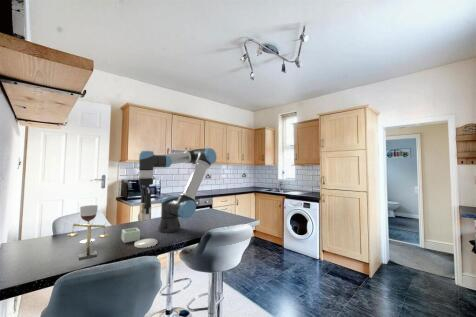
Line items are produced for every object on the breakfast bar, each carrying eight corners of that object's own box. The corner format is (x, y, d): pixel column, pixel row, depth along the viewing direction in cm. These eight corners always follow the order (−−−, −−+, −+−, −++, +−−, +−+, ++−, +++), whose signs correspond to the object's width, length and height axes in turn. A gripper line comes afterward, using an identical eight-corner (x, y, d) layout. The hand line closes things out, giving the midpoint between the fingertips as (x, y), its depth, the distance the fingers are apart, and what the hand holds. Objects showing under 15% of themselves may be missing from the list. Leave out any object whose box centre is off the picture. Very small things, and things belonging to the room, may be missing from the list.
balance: (107, 250, 110) (109, 218, 111) (109, 253, 106) (110, 220, 107) (65, 258, 99) (67, 223, 100) (65, 262, 95) (67, 225, 96)
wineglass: (74, 242, 122) (76, 207, 123) (89, 237, 130) (91, 204, 131) (85, 243, 119) (87, 208, 120) (99, 239, 127) (101, 205, 129)
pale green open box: (136, 236, 134) (136, 227, 134) (139, 239, 127) (140, 230, 127) (121, 238, 129) (121, 229, 129) (124, 242, 122) (124, 233, 122)
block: (148, 217, 124) (149, 202, 124) (150, 219, 120) (151, 203, 120) (139, 219, 121) (139, 203, 121) (141, 220, 117) (141, 204, 117)
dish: (153, 239, 128) (153, 237, 128) (160, 245, 119) (160, 242, 119) (132, 243, 121) (132, 241, 121) (137, 249, 112) (137, 247, 112)
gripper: (135, 177, 127) (135, 216, 126) (142, 178, 112) (142, 223, 111) (148, 177, 131) (148, 215, 130) (157, 178, 117) (156, 221, 116)
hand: (145, 218), depth 121 cm, fingers closed on block, 5 cm apart
